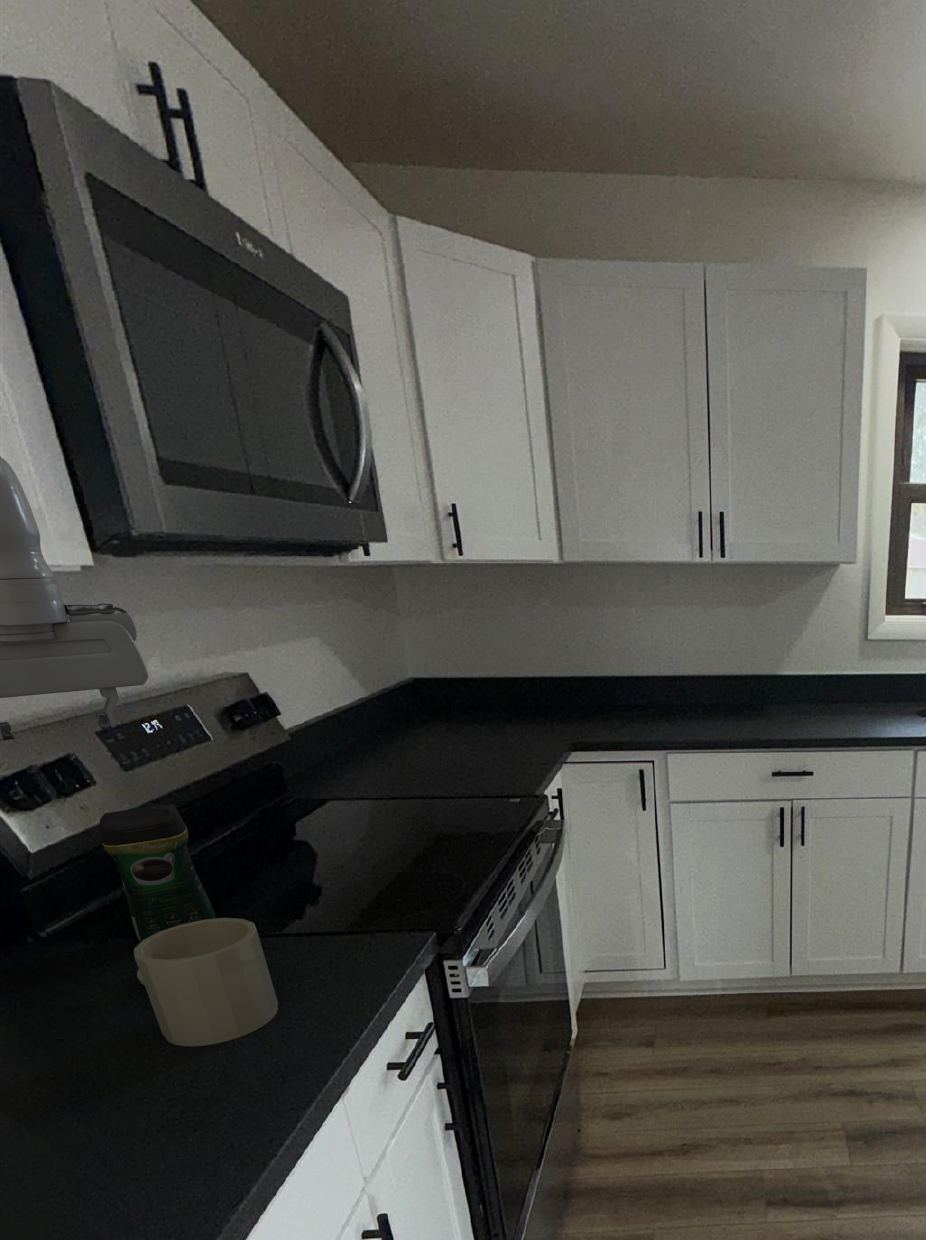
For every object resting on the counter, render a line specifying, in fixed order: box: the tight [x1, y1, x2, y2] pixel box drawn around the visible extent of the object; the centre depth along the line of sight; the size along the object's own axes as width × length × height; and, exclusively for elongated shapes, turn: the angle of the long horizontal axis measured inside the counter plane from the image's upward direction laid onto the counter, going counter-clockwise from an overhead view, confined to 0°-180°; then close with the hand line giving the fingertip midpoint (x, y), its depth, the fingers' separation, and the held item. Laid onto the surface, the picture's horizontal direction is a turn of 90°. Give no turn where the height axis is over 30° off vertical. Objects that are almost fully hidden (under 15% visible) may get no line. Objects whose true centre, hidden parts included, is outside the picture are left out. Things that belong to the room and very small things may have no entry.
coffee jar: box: [99, 803, 217, 943], centre depth 116 cm, size 10×8×19 cm
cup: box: [133, 917, 279, 1047], centre depth 96 cm, size 12×12×11 cm
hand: (58, 733), depth 97 cm, fingers open, 8 cm apart
